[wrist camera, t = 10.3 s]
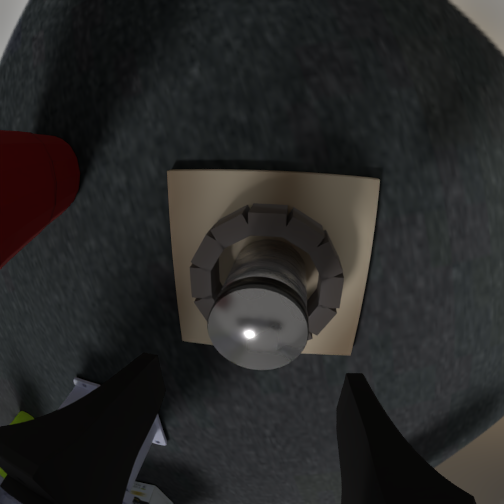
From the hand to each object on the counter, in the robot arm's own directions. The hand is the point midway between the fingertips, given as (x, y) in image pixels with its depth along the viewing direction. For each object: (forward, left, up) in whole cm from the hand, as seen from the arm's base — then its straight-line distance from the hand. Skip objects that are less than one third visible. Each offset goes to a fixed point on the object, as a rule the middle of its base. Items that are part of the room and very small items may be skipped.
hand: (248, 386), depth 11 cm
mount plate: (0, +1, -9) cm, 9 cm away
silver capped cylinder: (0, +1, -9) cm, 9 cm away
